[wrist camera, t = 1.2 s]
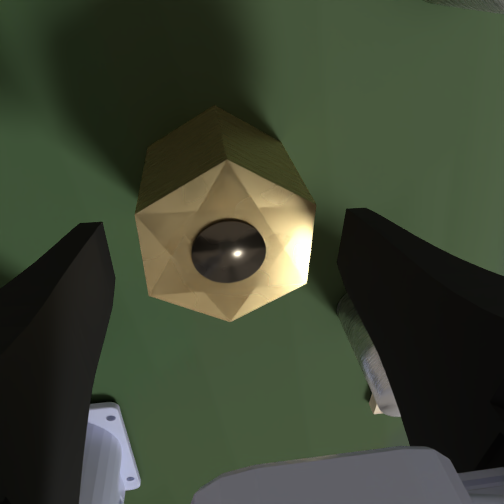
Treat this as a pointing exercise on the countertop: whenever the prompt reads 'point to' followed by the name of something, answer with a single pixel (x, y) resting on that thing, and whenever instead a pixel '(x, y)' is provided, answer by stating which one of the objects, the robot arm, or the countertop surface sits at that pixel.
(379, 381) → the steel spacers
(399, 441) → the countertop surface
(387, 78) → the countertop surface
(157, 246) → the brass nut
